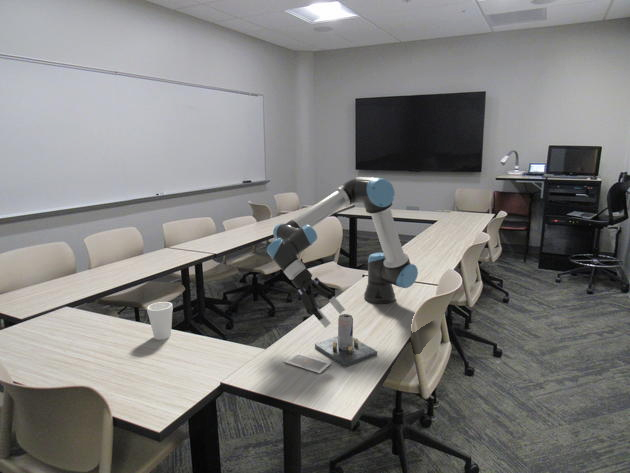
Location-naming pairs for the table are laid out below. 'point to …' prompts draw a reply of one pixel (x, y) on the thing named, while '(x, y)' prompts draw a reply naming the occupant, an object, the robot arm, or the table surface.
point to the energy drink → (345, 331)
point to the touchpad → (307, 362)
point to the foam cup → (160, 319)
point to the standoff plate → (346, 351)
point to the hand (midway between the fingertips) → (335, 318)
